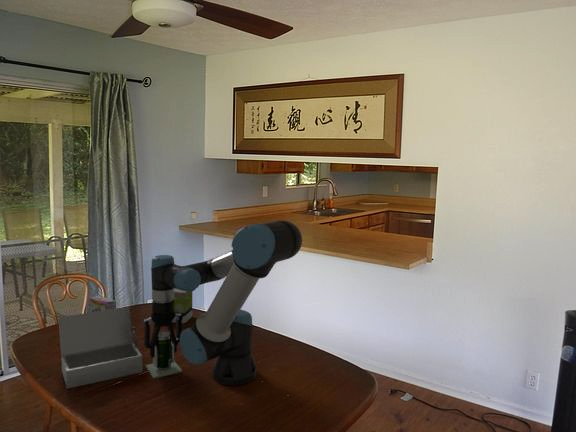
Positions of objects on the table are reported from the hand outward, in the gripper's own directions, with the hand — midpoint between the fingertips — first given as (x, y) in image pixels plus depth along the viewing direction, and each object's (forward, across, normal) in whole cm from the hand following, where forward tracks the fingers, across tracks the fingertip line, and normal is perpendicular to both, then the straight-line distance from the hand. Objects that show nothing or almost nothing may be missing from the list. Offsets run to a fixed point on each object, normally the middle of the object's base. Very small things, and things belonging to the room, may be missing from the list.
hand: (163, 363), depth 165 cm
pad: (+2, 0, 0) cm, 2 cm away
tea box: (+2, -19, -47) cm, 51 cm away
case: (+2, +18, -11) cm, 21 cm away
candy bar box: (+2, +13, -39) cm, 41 cm away
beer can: (+2, 0, 0) cm, 2 cm away
